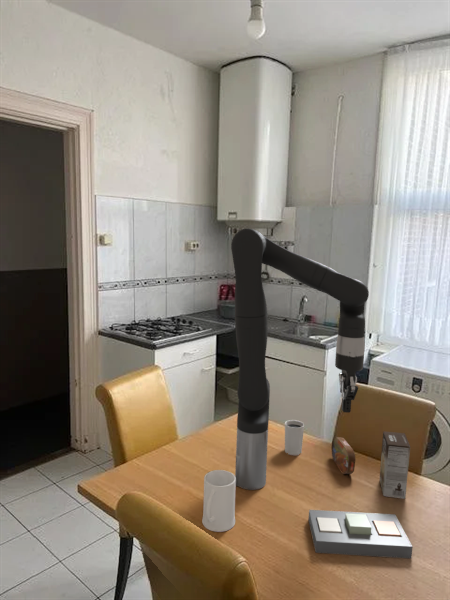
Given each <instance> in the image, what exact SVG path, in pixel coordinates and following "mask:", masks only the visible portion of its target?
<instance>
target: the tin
mask: <svg viewBox="0 0 450 600" xmlns="http://www.w3.org/2000/svg"><path fill="white" fill-rule="evenodd" d="M331 458H332V460H333V462H334V463H335V465H336V466H337V468H338V469H339V471H340V473H342V474H343V475H351V474H353V473H354V472H355V467H356V453H355V451H354V448H352V447H351V445H350V444H349V443H348V441H347V440H346V439H345V438H344V437H341V436H340V437H339V436H334V437H333V439H332V442H331Z"/></svg>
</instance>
